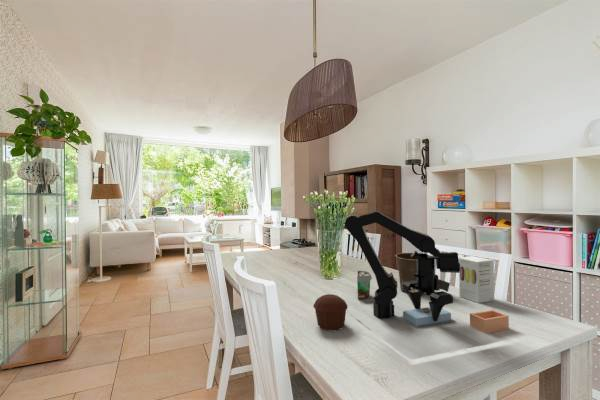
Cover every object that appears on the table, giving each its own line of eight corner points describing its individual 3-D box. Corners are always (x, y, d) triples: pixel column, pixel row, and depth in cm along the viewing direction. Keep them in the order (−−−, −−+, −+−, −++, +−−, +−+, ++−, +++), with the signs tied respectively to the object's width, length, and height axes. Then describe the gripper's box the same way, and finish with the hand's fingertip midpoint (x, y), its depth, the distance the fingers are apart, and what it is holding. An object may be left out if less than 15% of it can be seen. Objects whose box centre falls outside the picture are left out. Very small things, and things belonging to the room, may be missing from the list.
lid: (416, 326, 98) (416, 315, 98) (403, 318, 105) (402, 308, 105) (451, 320, 103) (450, 309, 103) (436, 312, 109) (435, 303, 109)
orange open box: (485, 336, 92) (485, 320, 92) (470, 328, 98) (469, 313, 98) (508, 331, 95) (508, 315, 95) (492, 324, 101) (492, 309, 101)
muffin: (351, 321, 106) (350, 292, 106) (343, 334, 96) (343, 303, 96) (319, 316, 110) (318, 289, 110) (308, 329, 100) (308, 299, 100)
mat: (416, 331, 97) (416, 328, 97) (398, 319, 106) (398, 316, 106) (456, 324, 101) (456, 321, 101) (435, 313, 111) (435, 311, 111)
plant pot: (436, 297, 129) (435, 259, 129) (396, 295, 133) (396, 258, 133) (430, 286, 145) (429, 253, 145) (395, 284, 149) (394, 252, 149)
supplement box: (458, 296, 130) (457, 257, 130) (474, 293, 133) (473, 255, 133) (478, 303, 121) (478, 261, 121) (495, 300, 124) (494, 259, 124)
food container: (372, 301, 126) (372, 277, 126) (357, 300, 127) (357, 276, 127) (371, 292, 138) (371, 270, 138) (358, 291, 139) (357, 270, 139)
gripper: (466, 275, 97) (467, 323, 97) (426, 264, 115) (427, 304, 115) (438, 278, 94) (439, 328, 94) (401, 266, 112) (402, 308, 112)
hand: (426, 316), depth 104 cm, fingers open, 8 cm apart
